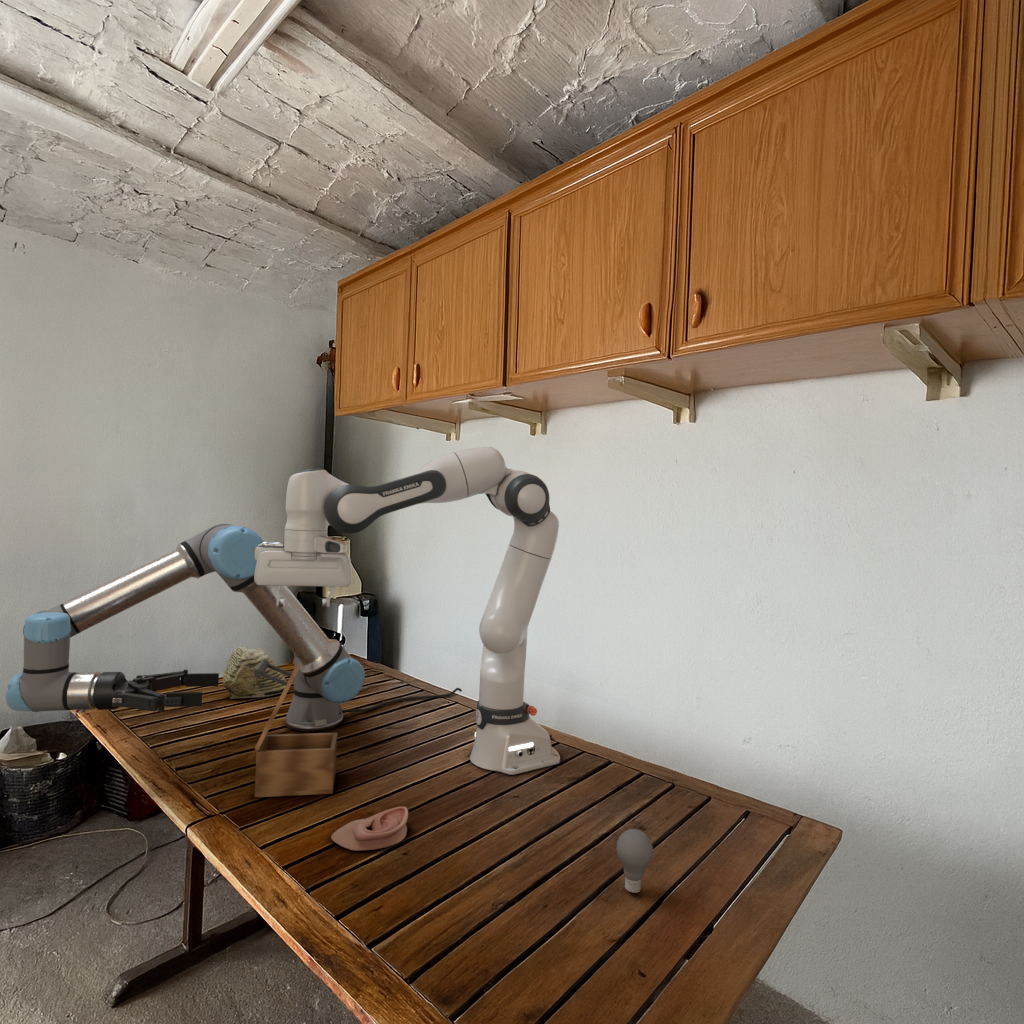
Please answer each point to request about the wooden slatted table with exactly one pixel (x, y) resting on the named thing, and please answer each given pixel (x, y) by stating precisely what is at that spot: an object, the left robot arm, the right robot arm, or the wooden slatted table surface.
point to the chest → (296, 764)
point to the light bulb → (634, 857)
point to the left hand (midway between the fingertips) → (210, 688)
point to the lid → (260, 672)
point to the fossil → (250, 675)
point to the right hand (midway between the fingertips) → (303, 606)
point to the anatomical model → (374, 830)
